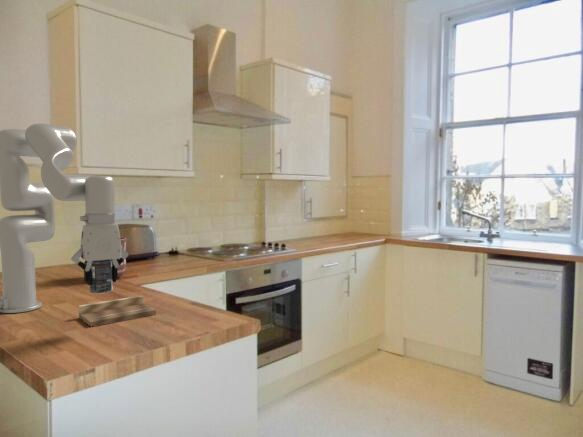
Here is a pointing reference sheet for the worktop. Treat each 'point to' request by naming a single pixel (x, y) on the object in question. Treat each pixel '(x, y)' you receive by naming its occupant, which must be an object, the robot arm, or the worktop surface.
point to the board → (114, 311)
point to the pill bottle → (101, 276)
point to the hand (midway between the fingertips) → (101, 282)
